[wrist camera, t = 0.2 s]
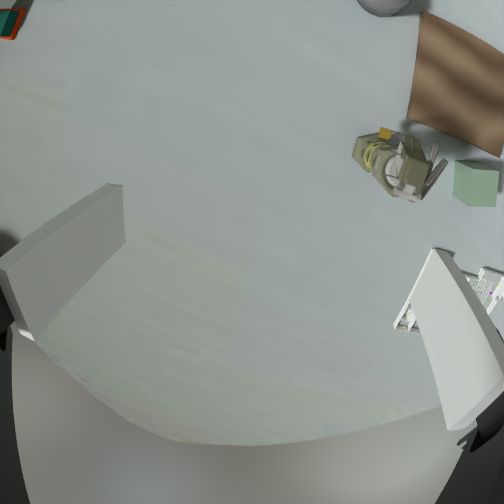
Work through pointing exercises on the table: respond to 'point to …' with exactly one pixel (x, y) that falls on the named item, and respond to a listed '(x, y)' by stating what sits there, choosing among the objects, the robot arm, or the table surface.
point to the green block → (475, 184)
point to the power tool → (10, 22)
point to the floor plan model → (410, 317)
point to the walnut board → (458, 85)
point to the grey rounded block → (383, 6)
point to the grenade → (399, 164)
